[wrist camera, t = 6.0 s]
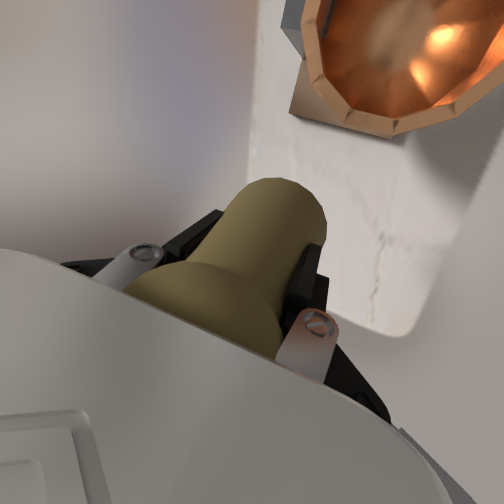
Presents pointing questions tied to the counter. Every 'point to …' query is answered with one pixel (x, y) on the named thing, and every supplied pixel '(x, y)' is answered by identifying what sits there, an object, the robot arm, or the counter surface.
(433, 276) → the counter surface
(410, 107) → the cup bracket
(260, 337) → the cork
